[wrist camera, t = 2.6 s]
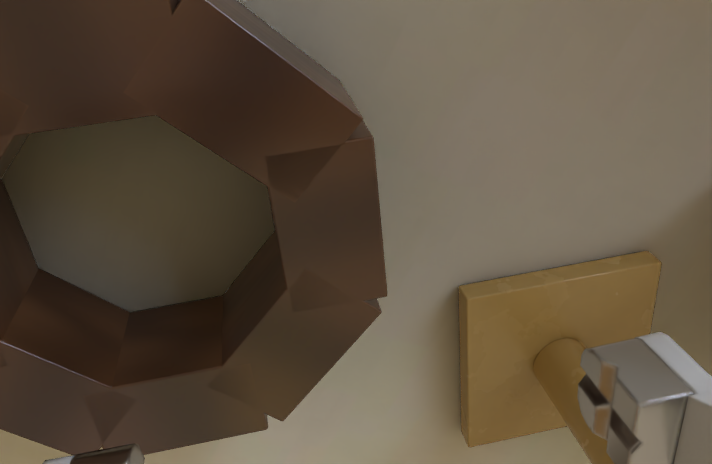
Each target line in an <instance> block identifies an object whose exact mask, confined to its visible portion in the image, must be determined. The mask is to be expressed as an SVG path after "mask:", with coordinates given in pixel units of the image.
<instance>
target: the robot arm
mask: <svg viewBox="0 0 712 464" xmlns="http://www.w3.org/2000/svg"><path fill="white" fill-rule="evenodd" d="M580 366H581V367H582V369H583V370H584V371H585V372H586V375H585V376H584V377H583V378H582V380H581V381H580V382H579V383H578V397H577V398H578V402H579V406H580V411H581V414H582V416H583V418H584V420H585V422H586V424H587V425H588V427H589V428H590V430H591V431H592V433H593V434H595V435H597V436H599V437H601V438H603V439H605V440H607V449H606V453H607V454H608V455H609V457H610V458H611V460H612V461H613V462H614V464H712V376H710V375H709V374H708V373H707V372H706V371H705V370H704V369H703V368H702V367H701V366H700V365H699V364H698V363H697V362H696V361H695V360H694V359H693V358H692V357H690V356H689V355H688V354H687V353H686V352H685V351H684V350H683V349H682V348H681V347H680V346H679V345H678V344H677V343H676V342H675V341H674V340H673V339H672V338H670V337H669V336H668V335H667V334H665V333H662V332H657V333H653V334H648V335H644V336H639V337H635V338H631V339H626V340H622V341H617V342H613V343H608V344H604V345H599V346H594V347H590V348H585V349H584V351H583V353H582V355H581V362H580ZM144 460H145V458H144V455H143V453H142V451H141V448H140V446H139V444H136V443H133V444H128V445H122V446H117V447H112V448H106V449H101V450H95V451H90V452H85V453H79V454H76V455H73V456H67V457H61V458H56V459H50V460H45V461H44V462H43V464H144Z"/></svg>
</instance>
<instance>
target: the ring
mask: <svg viewBox="0 0 712 464" xmlns="http://www.w3.org/2000/svg"><path fill="white" fill-rule="evenodd" d="M153 115H156V116H158V117H160V118H161V119H163V120H164V121H166V122H167V123H169V124H170V125H172V126H174V127H175V128H177V129H178V130H180V131H181V132H183V133H185V134H186V135H188V136H189V137H191V138H192V139H194V140H195V141H197V142H199V143H200V144H202V145H203V146H205V147H206V148H208V149H209V150H211V151H213V152H214V153H216V154H217V155H219V156H220V157H222V158H224V159H225V160H227V161H228V162H230V163H231V164H233V165H234V166H236V167H238V168H239V169H241V170H242V171H244V172H245V173H247V174H249V175H250V176H252V177H253V178H255V179H256V180H258V181H259V182H261V183H263V184H264V185H266V186H267V189H268V194H269V200H270V205H271V210H272V216H273V221H274V227H275V231H274V232H273V234H272V235H271V236H270V237H269V239H268V240H267V241H266V242H265V244H264V245H263V246H262V247H261V249H260V250H259V251H258V252H257V254H256V255H255V256H254V257H253V259H252V260H251V261H250V262H249V264H248V265H247V266H246V267H245V269H244V270H243V271H242V272H241V274H240V275H239V276H238V277H237V279H236V280H235V281H234V282H233V284H232V285H231V286H230V287H229V289H228V290H227V291H226V292H225V294H224V295H223V296H219V297H213V298H208V299H202V300H197V301H191V302H186V303H180V304H174V305H169V306H163V307H158V308H152V309H147V310H141V311H136V312H128V311H126V310H124V309H122V308H120V307H118V306H116V305H114V304H112V303H109V302H107V301H105V300H103V299H101V298H99V297H97V296H95V295H93V294H91V293H89V292H87V291H85V290H82V289H80V288H78V287H76V286H74V285H72V284H70V283H68V282H66V281H64V280H62V279H60V278H58V277H55V276H53V275H51V274H49V273H47V272H45V271H43V270H41V269H39V268H38V267H37V264H36V262H35V259H34V257H33V254H32V252H31V250H30V247H29V245H28V242H27V240H26V237H25V235H24V232H23V230H22V228H21V225H20V223H19V220H18V218H17V215H16V213H15V211H14V208H13V206H12V203H11V201H10V198H9V196H8V194H7V191H6V189H5V186H4V184H3V181H2V179H1V178H2V177H3V175H4V174H5V172H6V170H7V169H8V167H9V166H10V164H11V162H12V161H13V159H14V158H15V156H16V154H17V153H18V151H19V150H20V148H21V146H22V145H23V143H24V142H25V140H26V138H27V137H28V135H29V134H30V133H37V132H44V131H51V130H58V129H64V128H71V127H78V126H85V125H92V124H98V123H105V122H112V121H119V120H125V119H132V118H139V117H146V116H153ZM386 296H387V284H386V272H385V261H384V250H383V238H382V227H381V216H380V204H379V193H378V182H377V170H376V159H375V147H374V138H373V136H372V135H371V133H370V131H369V130H368V128H367V126H366V125H365V123H364V122H363V117H362V116H361V114H360V112H359V111H358V109H357V108H356V106H355V104H354V103H353V101H352V100H351V98H350V96H349V95H348V93H347V92H346V90H345V88H344V87H343V85H342V83H341V82H340V80H339V79H337V78H336V77H335V76H333V75H332V74H331V73H330V72H328V71H327V70H326V69H324V68H323V67H322V66H320V65H319V64H318V63H317V62H315V61H314V60H313V59H311V58H310V57H309V56H308V55H306V54H305V53H304V52H302V51H301V50H300V49H299V48H297V47H296V46H295V45H293V44H292V43H291V42H289V41H288V40H287V39H286V38H284V37H283V36H282V35H280V34H279V33H278V32H277V31H275V30H274V29H273V28H271V27H270V26H269V25H268V24H266V23H265V22H264V21H262V20H261V19H260V18H258V17H257V16H256V15H255V14H253V13H252V12H251V11H249V10H248V9H247V8H246V7H244V6H243V5H242V4H240V3H239V2H238V1H237V0H0V429H2V430H4V431H7V432H10V433H13V434H16V435H18V436H21V437H24V438H27V439H29V440H32V441H35V442H38V443H41V444H43V445H46V446H49V447H52V448H54V449H57V450H60V451H63V452H66V453H68V454H71V455H76V454H79V453H85V452H90V451H95V450H99V449H100V448H101V447H103V449H106V448H112V447H117V446H122V445H128V444H133V443H136V444H139V446H140V448H141V451H142V453H143V455H146V454H150V453H155V452H160V451H165V450H170V449H175V448H179V447H184V446H189V445H194V444H199V443H204V442H209V441H213V440H218V439H223V438H228V437H233V436H238V435H242V434H247V433H252V432H257V431H262V430H266V429H267V428H268V419H267V415H269V416H272V417H274V418H276V419H278V420H280V421H284V420H285V419H286V417H287V416H288V415H289V414H290V413H291V412H292V411H293V410H294V409H295V408H296V406H297V405H298V404H299V403H300V402H301V401H302V400H303V399H304V398H305V396H306V395H307V394H308V393H309V392H310V391H311V390H312V389H313V388H314V387H315V385H316V384H317V383H318V382H319V381H320V380H321V379H322V378H323V377H324V375H325V374H326V373H327V372H328V371H329V370H330V369H331V368H332V367H333V366H334V364H335V363H336V362H337V361H338V360H339V359H340V358H341V357H342V356H343V354H344V353H345V352H346V351H347V350H348V349H349V348H350V347H351V346H352V345H353V343H354V342H355V341H356V340H357V339H358V338H359V337H360V336H361V335H362V333H363V332H364V331H365V330H366V329H367V328H368V327H369V326H370V325H371V324H372V322H373V321H374V320H375V319H376V318H377V317H378V316H379V315H380V314H381V312H382V311H381V308H380V306H379V303H378V300H377V298H382V297H386Z"/></svg>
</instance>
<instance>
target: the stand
mask: <svg viewBox="0 0 712 464" xmlns="http://www.w3.org/2000/svg"><path fill="white" fill-rule="evenodd" d="M661 265H662V262H661V261H660V260H658V259H657V258H656V257H655V256H654V255H652V254H651V253H650V252H649V251H642V252H637V253H632V254H626V255H621V256H616V257H610V258H605V259H600V260H594V261H589V262H584V263H578V264H573V265H568V266H562V267H557V268H552V269H546V270H541V271H536V272H530V273H525V274H519V275H514V276H509V277H503V278H498V279H493V280H487V281H482V282H477V283H471V284H466V285H461V286H459V333H460V383H461V432H462V434H463V436H464V438H465V441H466V443H467V445H468V447H474V446H478V445H483V444H488V443H492V442H497V441H501V440H506V439H510V438H515V437H520V436H524V435H529V434H533V433H538V432H543V431H547V430H552V429H556V428H561V427H566V426H568V427H569V429H570V430H571V432H572V434H573V435H574V437H575V438H576V440H577V441H578V443H579V444H580V446H581V447H582V449H583V451H584V452H585V454H586V455H587V457H588V458H589V460H590V461H591V463H592V464H614V462H613V461H612V460H611V458H610V457H609V455H608V454H607V453H606V449H607V440H605V439H603V438H601V437H599V436H597V435H595V434H593V433H592V431H591V430H590V428H589V427H588V425H587V424H586V422H585V420H584V418H583V416H582V414H581V411H580V406H579V402H578V398H577V397H578V383H579V382H580V381H581V380H582V378H583V377H584V376H585V375H586V372H585V371H584V370H583V369H582V367H581V366H580V362H581V355H582V353H583V351H584V349H585V348H590V347H594V346H599V345H604V344H608V343H613V342H617V341H622V340H626V339H631V338H635V337H639V336H644V335H648V334H650V331H651V325H652V319H653V313H654V307H655V301H656V295H657V289H658V283H659V277H660V271H661Z"/></svg>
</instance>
